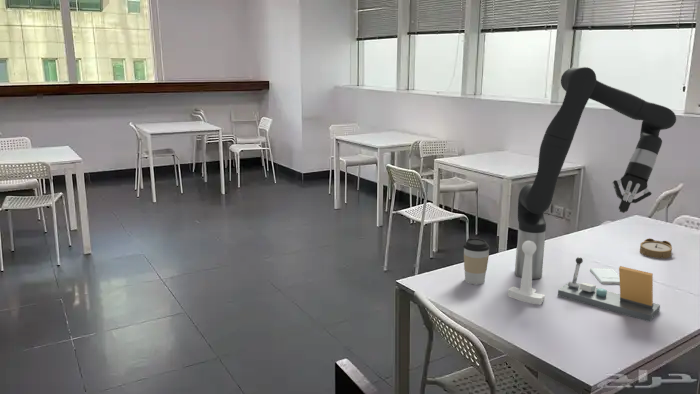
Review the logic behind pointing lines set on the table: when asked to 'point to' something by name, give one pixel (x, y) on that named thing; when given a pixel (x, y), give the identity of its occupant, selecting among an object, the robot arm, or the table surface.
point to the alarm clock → (656, 248)
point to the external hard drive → (606, 275)
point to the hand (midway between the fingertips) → (622, 212)
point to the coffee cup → (475, 260)
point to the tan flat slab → (636, 287)
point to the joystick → (527, 279)
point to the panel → (609, 302)
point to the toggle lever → (576, 274)
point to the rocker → (587, 287)
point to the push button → (601, 292)
